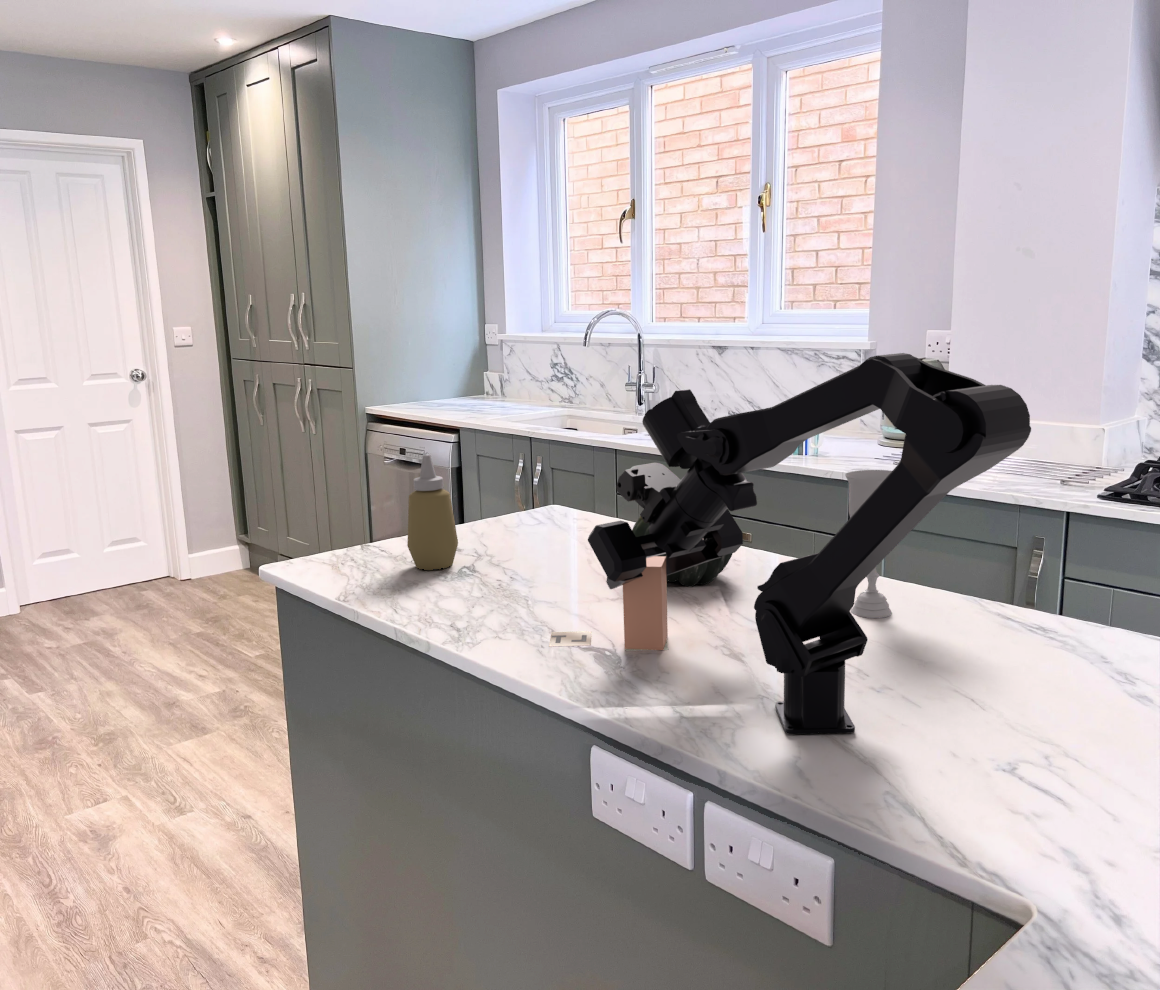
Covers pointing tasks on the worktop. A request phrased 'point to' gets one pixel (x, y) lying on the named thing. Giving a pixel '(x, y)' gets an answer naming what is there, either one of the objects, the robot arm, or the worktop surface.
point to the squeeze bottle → (431, 521)
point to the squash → (693, 574)
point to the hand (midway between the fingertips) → (637, 578)
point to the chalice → (871, 600)
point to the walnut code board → (578, 639)
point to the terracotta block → (646, 607)
